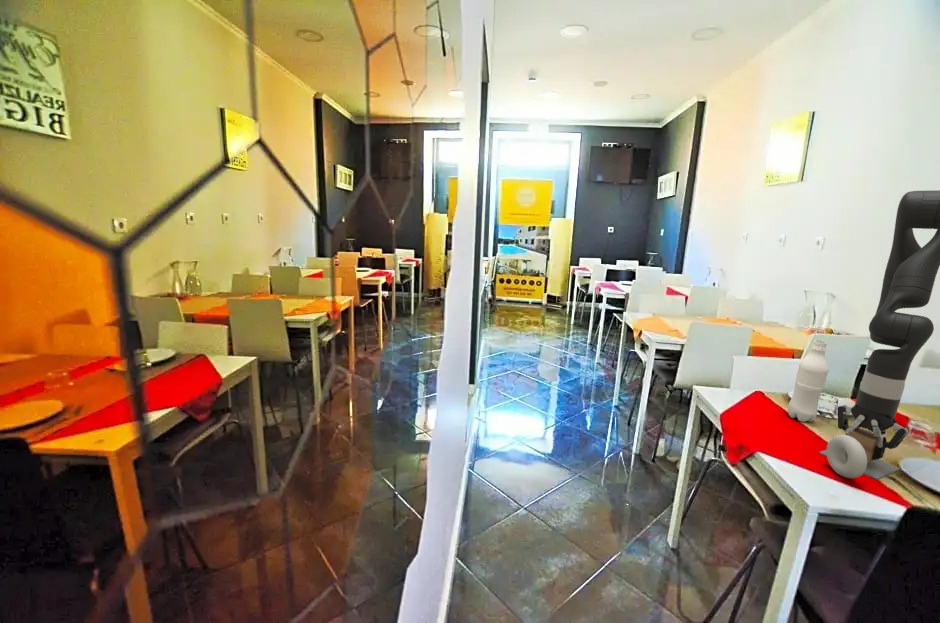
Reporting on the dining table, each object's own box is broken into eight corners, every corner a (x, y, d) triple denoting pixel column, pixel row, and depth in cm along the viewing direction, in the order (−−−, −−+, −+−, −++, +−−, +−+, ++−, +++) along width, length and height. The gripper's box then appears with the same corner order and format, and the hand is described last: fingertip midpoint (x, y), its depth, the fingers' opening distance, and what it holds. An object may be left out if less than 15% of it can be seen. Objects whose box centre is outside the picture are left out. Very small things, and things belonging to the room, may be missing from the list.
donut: (818, 461, 108) (828, 426, 105) (833, 463, 107) (843, 427, 105) (848, 486, 98) (860, 448, 96) (864, 488, 98) (876, 449, 95)
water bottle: (819, 425, 127) (842, 346, 122) (793, 421, 129) (813, 343, 123) (806, 414, 134) (826, 339, 128) (781, 411, 136) (800, 336, 130)
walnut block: (853, 448, 112) (860, 427, 110) (877, 458, 107) (884, 437, 106) (843, 451, 110) (849, 431, 108) (867, 462, 105) (874, 441, 104)
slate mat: (843, 444, 117) (843, 443, 117) (900, 469, 106) (900, 468, 106) (819, 453, 112) (819, 452, 112) (876, 479, 101) (876, 478, 101)
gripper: (926, 402, 100) (904, 465, 104) (853, 379, 112) (836, 436, 116) (911, 406, 97) (889, 472, 101) (837, 382, 109) (820, 441, 113)
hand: (861, 452), depth 108 cm, fingers closed on walnut block, 5 cm apart
